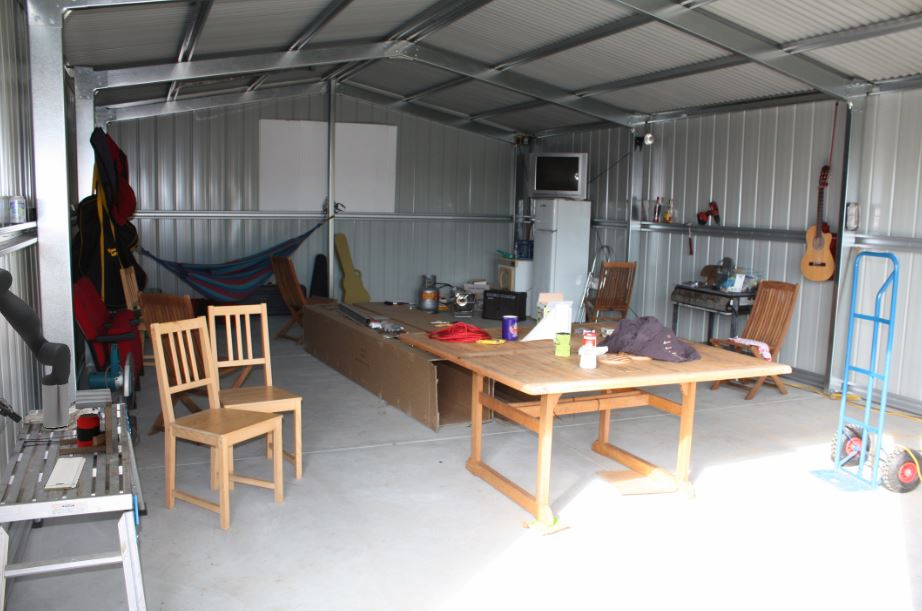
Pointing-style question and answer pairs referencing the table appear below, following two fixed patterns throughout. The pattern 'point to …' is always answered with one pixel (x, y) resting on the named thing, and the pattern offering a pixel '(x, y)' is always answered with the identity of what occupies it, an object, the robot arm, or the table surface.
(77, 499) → the table surface
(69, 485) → the baseboard
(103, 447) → the overhang shelf
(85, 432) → the soda can
